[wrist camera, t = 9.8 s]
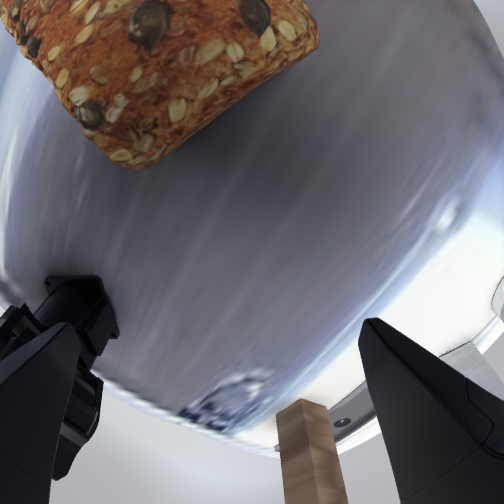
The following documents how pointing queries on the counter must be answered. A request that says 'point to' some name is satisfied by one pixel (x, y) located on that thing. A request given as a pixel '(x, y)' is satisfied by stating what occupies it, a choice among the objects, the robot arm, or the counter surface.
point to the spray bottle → (499, 301)
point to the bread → (156, 62)
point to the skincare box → (475, 368)
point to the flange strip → (350, 413)
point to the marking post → (309, 456)
